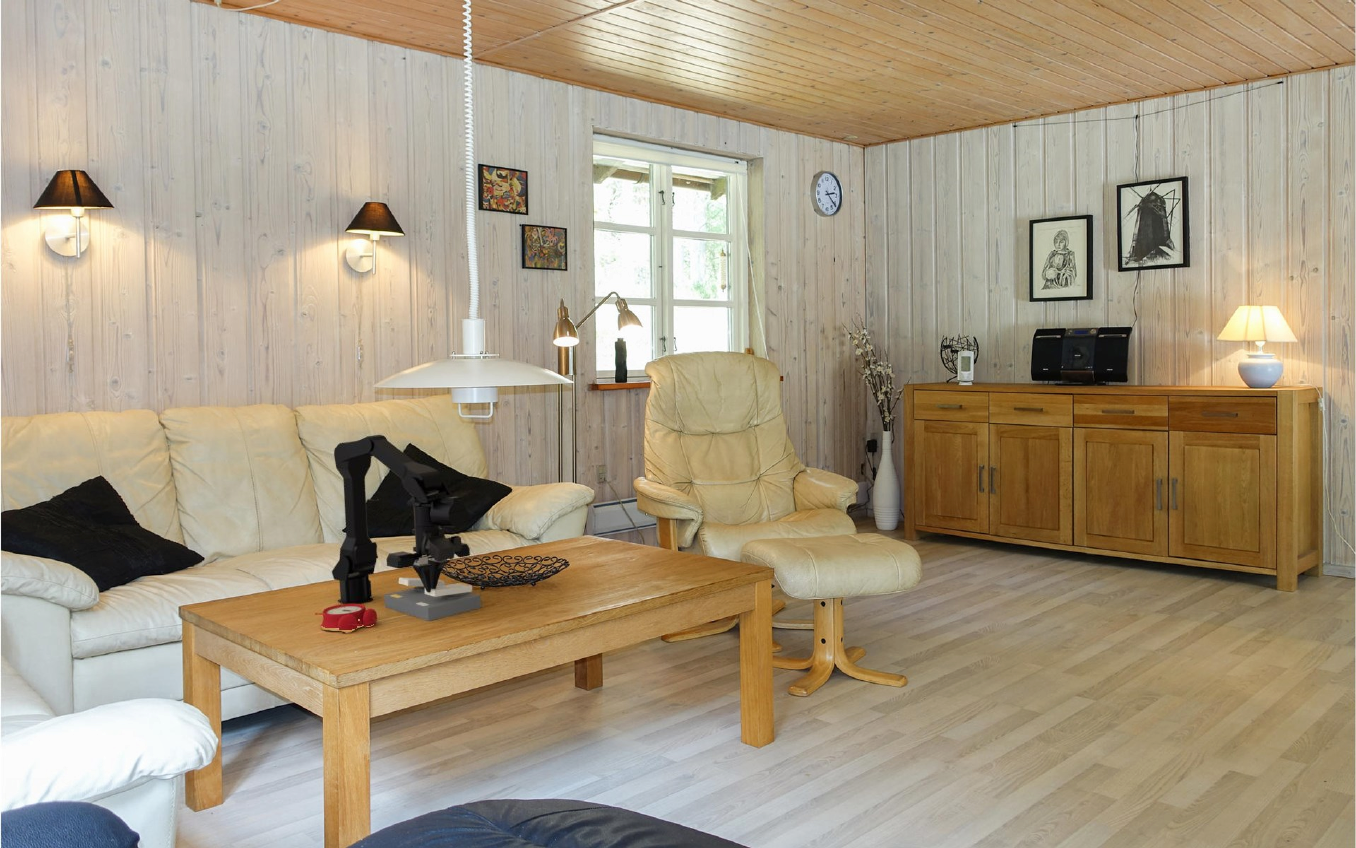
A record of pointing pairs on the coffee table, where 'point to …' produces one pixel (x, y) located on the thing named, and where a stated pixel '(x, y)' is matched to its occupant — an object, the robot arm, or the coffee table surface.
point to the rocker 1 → (416, 582)
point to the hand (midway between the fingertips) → (431, 591)
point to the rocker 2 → (450, 589)
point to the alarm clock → (348, 616)
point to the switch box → (431, 603)
